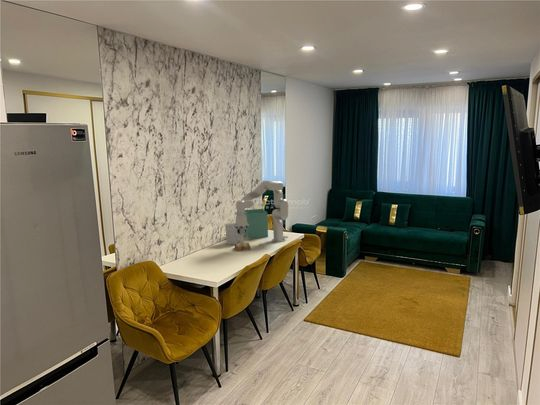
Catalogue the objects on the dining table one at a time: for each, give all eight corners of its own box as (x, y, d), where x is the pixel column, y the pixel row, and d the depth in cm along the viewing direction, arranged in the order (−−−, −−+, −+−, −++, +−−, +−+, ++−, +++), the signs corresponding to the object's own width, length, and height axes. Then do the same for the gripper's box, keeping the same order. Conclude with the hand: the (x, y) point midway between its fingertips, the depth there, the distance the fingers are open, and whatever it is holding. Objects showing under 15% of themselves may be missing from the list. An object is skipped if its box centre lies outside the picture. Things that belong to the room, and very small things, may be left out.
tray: (247, 246, 363) (247, 242, 363) (250, 249, 352) (249, 245, 351) (234, 247, 360) (234, 243, 360) (237, 251, 349) (237, 247, 348)
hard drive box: (243, 242, 379) (242, 222, 376) (242, 244, 372) (241, 224, 368) (227, 242, 381) (227, 222, 378) (226, 244, 373) (225, 224, 370)
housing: (245, 234, 351) (245, 227, 350) (239, 234, 349) (239, 227, 348) (243, 232, 358) (243, 225, 357) (238, 233, 357) (237, 226, 356)
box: (244, 233, 414) (243, 210, 410) (263, 232, 419) (262, 208, 415) (248, 238, 392) (247, 214, 387) (268, 237, 397) (267, 212, 392)
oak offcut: (247, 245, 369) (247, 242, 369) (249, 246, 366) (249, 243, 365) (243, 245, 367) (243, 242, 366) (245, 246, 364) (245, 243, 363)
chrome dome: (262, 246, 364) (262, 244, 364) (263, 247, 360) (263, 246, 360) (258, 246, 363) (258, 245, 363) (259, 247, 359) (259, 246, 359)
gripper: (232, 215, 345) (233, 235, 348) (250, 213, 349) (251, 233, 352) (231, 213, 352) (231, 233, 355) (249, 212, 357) (249, 231, 359)
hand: (241, 233), depth 354 cm, fingers closed on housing, 5 cm apart
